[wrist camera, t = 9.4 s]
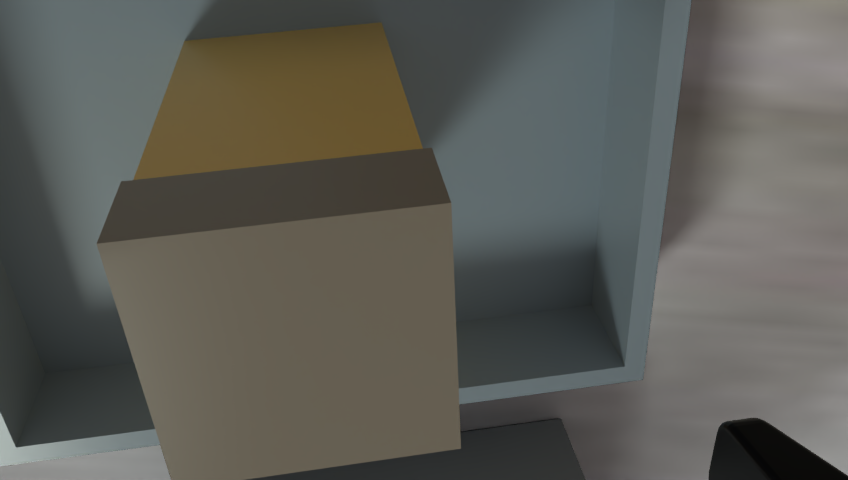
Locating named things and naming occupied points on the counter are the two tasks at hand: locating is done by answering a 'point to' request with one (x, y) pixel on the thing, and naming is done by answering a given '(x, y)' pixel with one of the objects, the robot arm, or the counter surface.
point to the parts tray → (438, 129)
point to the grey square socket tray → (472, 459)
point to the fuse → (287, 261)
